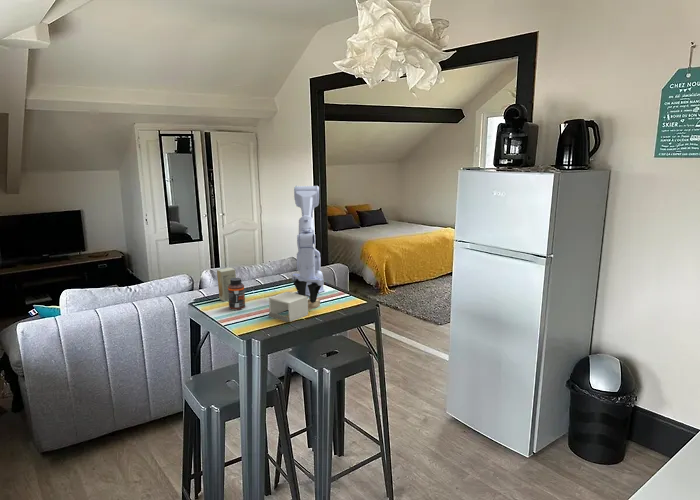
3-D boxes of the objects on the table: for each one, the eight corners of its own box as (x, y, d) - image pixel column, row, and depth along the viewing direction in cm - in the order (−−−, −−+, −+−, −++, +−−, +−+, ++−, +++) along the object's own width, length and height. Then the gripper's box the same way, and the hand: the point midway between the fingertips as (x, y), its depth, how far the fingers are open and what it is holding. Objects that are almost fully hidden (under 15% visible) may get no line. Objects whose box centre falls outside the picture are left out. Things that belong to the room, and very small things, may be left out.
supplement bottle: (241, 311, 178) (239, 281, 176) (226, 310, 179) (224, 280, 177) (247, 305, 184) (246, 277, 181) (233, 305, 185) (231, 276, 183)
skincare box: (233, 296, 196) (231, 267, 194) (238, 298, 193) (236, 269, 190) (218, 299, 192) (216, 269, 190) (222, 301, 189) (220, 271, 187)
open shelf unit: (287, 309, 179) (287, 291, 178) (308, 314, 173) (307, 296, 172) (267, 316, 172) (267, 297, 171) (288, 322, 166) (287, 303, 164)
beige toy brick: (312, 305, 185) (312, 293, 184) (320, 307, 183) (319, 295, 182) (295, 311, 178) (295, 299, 177) (303, 313, 176) (303, 301, 175)
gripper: (285, 264, 179) (286, 299, 181) (314, 270, 170) (315, 307, 172) (298, 261, 184) (299, 295, 187) (327, 266, 175) (328, 302, 178)
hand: (308, 300), depth 180 cm, fingers open, 5 cm apart
